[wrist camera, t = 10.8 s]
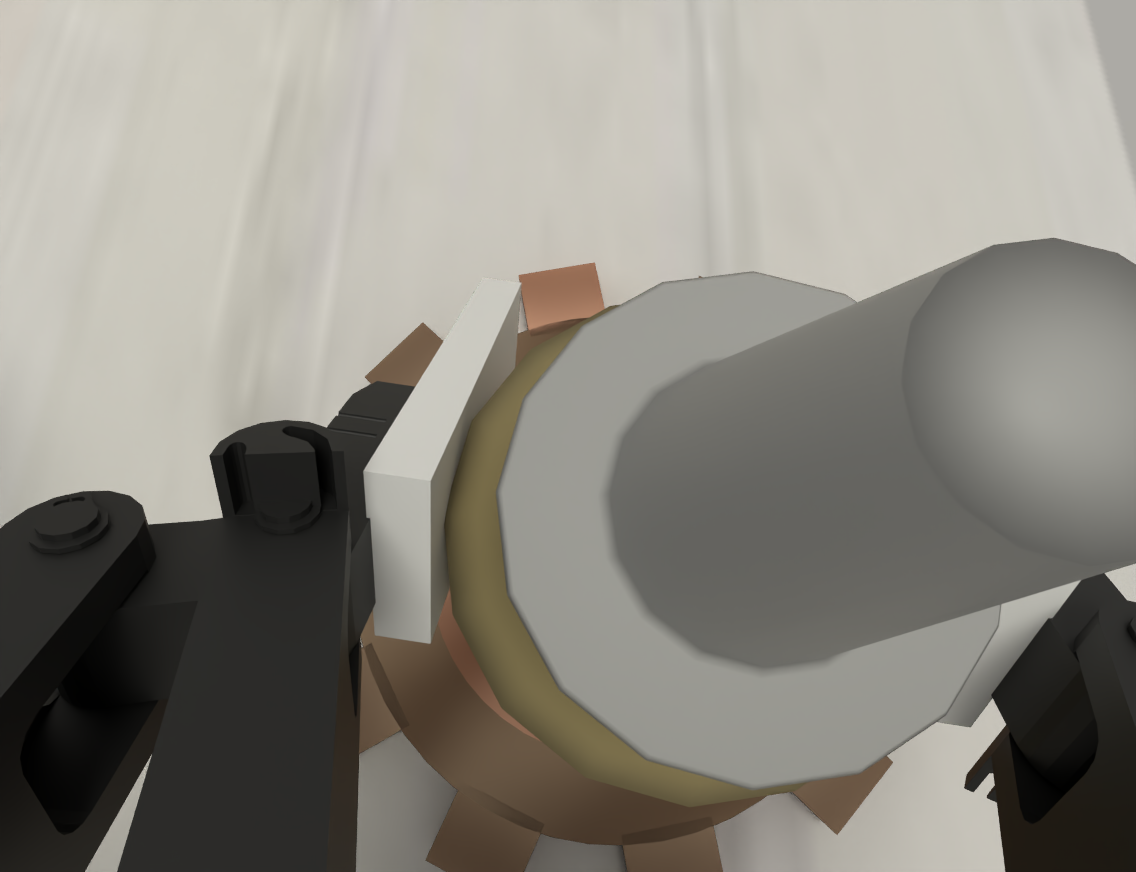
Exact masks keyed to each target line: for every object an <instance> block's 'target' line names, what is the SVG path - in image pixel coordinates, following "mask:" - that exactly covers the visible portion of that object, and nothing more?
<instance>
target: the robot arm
mask: <svg viewBox="0 0 1136 872" xmlns="http://www.w3.org/2000/svg"><path fill="white" fill-rule="evenodd" d="M521 284H522V283H520V282H513V281H506V280H499V279H493V278H486V277H483V279H482V280H481V282H480V283H479V285H478V287H477V288H476V290H475V291H474V293H473V295H472V296H471V298H470V300H469V301H468V303H467V304H466V306H465V308H464V309H463V311H462V312H461V314H460V316H459V317H458V319H457V321H456V322H455V324H454V325H453V327H452V329H451V330H450V332H449V333H448V335H447V337H446V338H445V340H444V342H443V343H442V345H441V346H440V348H439V350H438V351H437V353H436V354H435V356H434V358H433V359H432V361H431V363H430V364H429V366H428V367H427V369H426V371H425V372H424V374H423V375H422V377H421V379H420V380H419V382H418V384H417V385H416V387H415V386H409V385H402V384H395V383H388V382H381V381H376V382H374V383H372V384H370V385H369V386H367V387H365V388H363V389H361V390H360V391H358V392H356V393H354V394H352V396H351V397H350V398H349V400H348V401H347V402H346V403H345V405H344V406H343V407H342V409H341V410H340V411H339V415H338V416H335V418H334V419H333V420H332V421H331V423H330V424H329V425H328V427H327V428H326V427H323V426H320V425H317V424H314V423H310V422H303V421H290V420H283V421H275V422H266V423H260V424H257V425H254V426H251V427H247V428H244V429H241V430H238V431H236V432H235V433H233V434H232V435H230V436H228V437H227V438H225V439H224V440H222V441H220V442H219V443H218V445H217V446H216V448H215V449H214V450H213V452H212V453H211V454H210V460H211V465H212V469H213V474H214V478H215V483H216V487H217V492H218V496H219V501H220V505H221V510H222V514H223V518H218V519H211V520H204V521H192V522H178V523H164V524H150V525H148V523H147V520H146V516H145V513H144V510H143V507H142V505H141V504H140V503H138V502H137V501H136V500H134V499H133V498H132V497H131V496H129V495H124V494H120V493H116V492H112V491H83V492H79V493H74V494H69V495H64V496H60V497H56V498H53V499H50V500H48V501H46V502H43V503H41V504H38V505H36V506H33V507H31V508H29V509H27V510H25V511H24V512H22V513H21V514H19V515H18V516H16V517H15V518H14V519H12V520H11V521H9V522H8V523H6V524H5V525H4V526H3V527H2V528H0V872H85V870H86V869H87V867H88V865H89V863H90V862H91V860H92V858H93V856H94V855H95V853H96V851H97V849H98V848H99V846H100V844H101V842H102V840H103V839H104V837H105V835H106V833H107V832H108V830H109V828H110V826H111V825H112V823H113V821H114V819H115V818H116V816H117V814H118V812H119V811H120V809H121V807H122V805H123V804H124V802H125V800H126V798H127V797H128V795H129V793H130V791H131V790H132V788H133V786H134V784H135V783H136V781H137V779H138V777H139V776H140V774H141V772H142V770H143V768H144V767H145V765H146V763H147V761H148V760H149V758H150V756H151V754H152V757H151V760H150V763H149V767H148V770H147V773H146V777H145V780H144V784H143V787H142V790H141V794H140V797H139V800H138V804H137V807H136V810H135V814H134V817H133V820H132V824H131V827H130V830H129V834H128V837H127V840H126V844H125V847H124V850H123V854H122V857H121V861H120V864H119V867H118V871H117V872H356V844H357V810H358V775H359V741H360V706H361V671H362V654H361V642H360V636H361V634H362V632H363V629H364V627H365V625H366V623H367V621H368V619H369V616H370V614H371V612H372V610H373V617H374V632H375V635H376V636H382V637H389V638H395V639H402V640H408V641H415V642H421V643H428V644H431V641H432V638H433V635H434V632H435V629H436V627H437V624H438V621H439V618H440V615H441V612H442V609H443V606H444V603H445V600H446V597H447V594H448V591H449V588H450V582H449V572H448V561H447V550H446V539H445V528H444V523H445V516H446V510H447V505H448V501H449V496H450V491H451V486H452V483H453V480H454V476H455V473H456V470H457V467H458V463H459V460H460V457H461V454H462V450H463V447H464V444H465V441H466V437H467V434H468V431H469V428H470V424H471V421H472V420H473V419H474V417H475V416H476V415H477V414H478V413H479V411H480V410H481V409H482V408H483V406H484V405H485V404H486V403H487V402H488V400H489V399H490V398H491V397H492V395H493V394H494V393H495V392H496V391H497V389H498V388H499V387H500V386H501V385H502V383H503V382H504V381H505V380H506V378H507V377H508V376H509V375H510V374H511V372H512V371H513V370H514V369H515V361H516V348H517V336H518V323H519V310H520V297H521ZM992 698H993V699H994V701H995V703H996V705H997V707H998V709H999V711H1000V713H1001V715H1002V717H1003V719H1004V721H1005V723H1006V726H1005V727H1004V728H1003V730H1002V731H1001V732H1000V733H999V735H998V736H997V737H996V738H995V740H994V741H993V742H992V743H991V745H990V746H989V747H988V749H987V750H986V751H985V752H984V754H983V755H982V756H981V757H980V759H979V760H978V761H977V762H976V764H975V765H974V766H973V767H972V769H971V770H970V771H969V772H968V774H967V776H966V781H965V787H964V788H965V789H967V790H969V791H972V792H974V791H975V790H976V789H977V787H978V786H979V785H980V784H981V783H982V781H983V780H984V779H985V778H986V777H987V775H988V774H989V773H993V774H994V782H995V786H994V787H993V788H992V789H991V791H990V792H989V793H988V795H987V798H988V799H990V800H992V801H995V802H997V807H998V815H999V823H1000V831H1001V839H1002V847H1003V855H1004V864H1005V872H1136V602H1132V601H1127V600H1126V599H1125V597H1124V596H1123V595H1122V594H1121V593H1120V591H1119V590H1118V589H1117V588H1116V587H1115V585H1114V584H1113V583H1112V582H1111V581H1110V580H1109V578H1108V577H1107V576H1106V575H1105V574H1104V573H1102V574H1099V575H1096V576H1092V577H1089V578H1086V579H1083V580H1079V581H1076V582H1073V583H1069V584H1066V585H1063V586H1060V587H1056V588H1053V589H1050V590H1047V591H1043V592H1040V593H1037V594H1033V595H1030V596H1027V597H1024V598H1020V599H1017V600H1014V601H1010V602H1007V603H1004V604H1001V612H1000V621H999V627H998V629H997V631H996V632H995V634H994V636H993V637H992V639H991V641H990V643H989V644H988V646H987V648H986V649H985V651H984V653H983V654H982V656H981V658H980V659H979V661H978V663H977V664H976V666H975V668H974V670H973V671H972V673H971V675H970V676H969V678H968V680H967V681H966V683H965V685H964V686H963V688H962V690H961V691H960V693H959V695H958V697H957V698H956V700H955V702H954V703H953V705H952V707H951V708H950V710H949V712H948V713H947V715H946V716H945V717H943V718H942V719H940V720H939V721H937V722H940V723H946V724H953V725H959V726H965V727H971V726H972V725H973V723H974V722H975V721H976V719H977V718H978V717H979V715H980V714H981V713H982V711H983V710H984V709H985V707H986V706H987V705H988V703H989V702H990V701H991V699H992Z"/></svg>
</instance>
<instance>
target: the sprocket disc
mask: <svg viewBox="0 0 1136 872" xmlns="http://www.w3.org/2000/svg"><path fill="white" fill-rule="evenodd" d="M699 278H703V277H701V276H699ZM519 281H520V283H522V284H521V294H522V299H523V305H524V310H525V316H526V321H527V327H528V330H527V331H524V332H521V333H518V336H517V348H516V361H515V368H516V366H517V365H518V364H519V363H520V361H521V360H522V359H523V358H524V357H525V355H526V354H527V353H528V352H529V351H530V349H532V348H534V347H536V346H537V345H539V344H541V343H543V342H545V341H547V340H549V339H550V338H552V337H554V336H556V335H558V334H560V333H561V332H563V331H565V330H567V329H569V328H571V327H573V326H574V325H576V324H578V323H580V322H582V321H584V320H586V319H587V318H589V317H591V316H593V315H595V314H597V313H598V312H600V311H602V310H604V304H603V299H602V294H601V290H600V285H599V280H598V275H597V271H596V266H595V263H589V264H583V265H577V266H571V267H565V268H559V269H553V270H547V271H541V272H535V273H529V274H523V275H519ZM442 343H443V341H442V340H441V339H440V338H439V337H438V336H437V335H436V334H435V333H434V332H433V331H432V330H431V329H429V328H428V327H427V326H426V325H425V324H424V323H422V324H421V325H419V326H418V327H417V328H416V329H415V330H414V331H413V332H412V333H411V334H410V335H409V336H408V337H407V338H406V339H405V340H403V341H402V342H401V343H400V344H399V345H398V346H397V347H396V348H395V349H394V350H393V351H392V352H391V353H390V354H389V355H388V356H386V357H385V358H384V359H383V360H382V361H381V362H380V363H379V364H378V365H377V366H376V367H375V368H374V369H373V370H372V371H370V372H369V373H368V374H367V375H366V376H365V378H366V379H367V380H368V381H369V382H370V383H371V384H372V383H374V382H376V381H381V382H388V383H395V384H402V385H409V386H415V387H416V385H417V384H418V382H419V380H420V379H421V377H422V375H423V374H424V372H425V371H426V369H427V367H428V366H429V364H430V363H431V361H432V359H433V358H434V356H435V354H436V353H437V351H438V350H439V348H440V346H441V345H442ZM361 640H362V643H363V646H364V647H363V648H361V654H362V671H361V706H360V741H359V754H360V753H362V752H363V751H365V750H367V749H369V748H370V747H372V746H374V745H376V744H377V743H379V742H381V741H383V740H384V739H386V738H388V737H390V736H391V735H393V734H395V733H397V732H399V731H400V730H402V732H403V733H404V735H405V736H406V737H407V738H408V740H409V741H410V742H411V743H412V745H413V746H414V747H415V748H416V749H417V751H418V752H419V753H420V754H421V756H422V757H423V758H424V759H425V760H426V762H427V763H428V764H429V765H430V766H432V767H433V768H434V769H435V770H436V771H437V772H438V773H439V774H440V775H441V776H442V777H443V778H444V779H445V780H447V781H448V782H449V783H450V784H451V785H452V786H453V787H454V788H456V789H457V790H458V792H457V794H456V796H455V798H454V800H453V802H452V804H451V807H450V809H449V811H448V813H447V815H446V817H445V819H444V821H443V824H442V826H441V828H440V830H439V832H438V834H437V836H436V839H435V841H434V843H433V845H432V847H431V849H430V851H429V853H428V856H427V858H426V861H428V862H429V863H431V864H433V865H435V866H437V867H439V868H441V869H442V870H444V871H446V872H524V870H525V868H526V866H527V863H528V861H529V859H530V856H531V854H532V852H533V850H534V847H535V845H536V843H537V841H538V838H539V836H540V834H544V835H547V836H550V837H554V838H559V839H564V840H570V841H575V842H581V843H586V844H601V845H622V847H623V852H624V857H625V863H626V868H627V872H723V870H722V865H721V860H720V855H719V851H718V846H717V841H716V836H715V832H714V827H713V826H714V825H716V824H719V823H721V822H723V821H726V820H728V819H731V818H732V817H734V816H736V815H737V814H739V813H741V812H742V811H744V810H746V809H747V808H749V807H751V806H752V805H754V804H756V803H757V802H759V801H761V800H762V799H764V798H765V797H766V796H760V797H754V798H747V799H741V800H734V801H728V802H721V803H715V804H708V805H701V806H695V807H687V806H683V805H680V804H676V803H673V802H669V801H666V800H662V799H659V798H655V797H652V796H648V795H645V794H641V793H638V792H634V791H631V790H627V789H624V788H620V787H617V786H613V785H610V784H606V783H603V782H599V781H595V780H592V779H588V778H585V777H584V776H583V775H582V774H580V773H579V772H578V771H577V770H576V769H574V768H573V767H572V766H571V765H569V764H568V763H567V762H566V761H565V760H563V759H562V758H561V757H560V756H559V755H557V754H556V753H555V752H554V751H553V750H551V749H550V748H549V747H548V746H546V745H545V744H544V743H543V742H542V741H540V740H539V739H538V738H537V737H536V736H534V735H533V734H532V733H531V732H529V731H528V730H527V729H526V728H525V727H523V726H522V725H521V724H520V723H519V722H517V721H516V720H515V719H514V718H513V717H511V716H510V715H509V714H508V713H506V712H505V711H504V710H503V709H502V708H501V706H500V704H499V702H498V701H497V699H496V697H495V695H494V693H493V691H492V689H491V687H490V685H489V683H488V681H487V680H486V678H485V676H484V674H483V672H482V670H481V668H480V666H479V664H478V662H477V661H476V659H475V657H474V655H473V653H472V651H471V649H470V647H469V645H468V643H467V641H466V640H465V638H464V636H463V634H462V632H461V630H460V628H459V626H458V624H457V622H456V621H455V619H454V617H453V615H452V604H451V593H450V588H449V591H448V594H447V597H446V600H445V603H444V606H443V609H442V612H441V615H440V618H439V621H438V624H437V627H436V629H435V632H434V635H433V638H432V641H431V644H428V643H421V642H415V641H408V640H402V639H395V638H389V637H382V636H376V635H375V632H374V617H373V610H372V612H371V614H370V616H369V619H368V621H367V623H366V625H365V627H364V629H363V632H362V634H361ZM892 763H893V762H892V761H891V760H890V759H889V758H888V757H887V756H885V757H884V758H883V759H881V760H880V761H878V762H877V763H875V764H874V765H872V766H871V767H869V768H868V769H866V770H865V771H863V772H862V773H860V774H857V775H850V776H844V777H837V778H831V779H824V780H818V781H811V782H808V783H806V784H805V785H803V786H802V787H800V788H799V789H797V790H796V791H793V793H794V794H795V795H796V796H797V797H798V798H799V799H800V800H801V801H802V802H803V803H804V804H805V805H806V806H807V807H808V808H809V809H810V810H811V811H812V812H813V813H814V814H815V815H816V816H817V817H818V818H819V819H820V820H822V821H823V822H824V823H825V824H826V825H827V826H828V827H829V828H830V829H831V830H832V831H833V832H834V833H836V834H837V835H838V833H839V832H840V831H841V829H842V828H843V827H844V825H845V824H846V823H847V822H848V820H849V819H850V818H851V816H852V815H853V814H854V813H855V811H856V810H857V809H858V807H859V806H860V805H861V803H862V802H863V801H864V800H865V798H866V797H867V796H868V794H869V793H870V792H871V790H872V789H873V788H874V787H875V785H876V784H877V783H878V781H879V780H880V779H881V777H882V776H883V775H884V774H885V772H886V771H887V770H888V768H889V767H890V766H891V764H892Z"/></svg>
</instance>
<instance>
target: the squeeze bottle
mask: <svg viewBox="0 0 1136 872" xmlns="http://www.w3.org/2000/svg"><path fill="white" fill-rule="evenodd" d="M444 528H445V539H446V550H447V561H448V572H449V582H450V593H451V604H452V615H453V617H454V619H455V621H456V622H457V624H458V626H459V628H460V630H461V632H462V634H463V636H464V638H465V640H466V641H467V643H468V645H469V647H470V649H471V651H472V653H473V655H474V657H475V659H476V661H477V662H478V664H479V666H480V668H481V670H482V672H483V674H484V676H485V678H486V680H487V681H488V683H489V685H490V687H491V689H492V691H493V693H494V695H495V697H496V699H497V701H498V702H499V704H500V706H501V708H502V709H503V710H504V711H505V712H506V713H508V714H509V715H510V716H511V717H513V718H514V719H515V720H516V721H517V722H519V723H520V724H521V725H522V726H523V727H525V728H526V729H527V730H528V731H529V732H531V733H532V734H533V735H534V736H536V737H537V738H538V739H539V740H540V741H542V742H543V743H544V744H545V745H546V746H548V747H549V748H550V749H551V750H553V751H554V752H555V753H556V754H557V755H559V756H560V757H561V758H562V759H563V760H565V761H566V762H567V763H568V764H569V765H571V766H572V767H573V768H574V769H576V770H577V771H578V772H579V773H580V774H582V775H583V776H584V777H585V778H588V779H592V780H595V781H599V782H603V783H606V784H610V785H613V786H617V787H620V788H624V789H627V790H631V791H634V792H638V793H641V794H645V795H648V796H652V797H655V798H659V799H662V800H666V801H669V802H673V803H676V804H680V805H683V806H687V807H695V806H701V805H708V804H715V803H721V802H728V801H734V800H741V799H747V798H754V797H760V796H767V795H773V794H780V793H787V792H793V791H796V790H797V789H799V788H800V787H802V786H803V785H805V784H806V783H808V782H811V781H818V780H824V779H831V778H837V777H844V776H850V775H857V774H860V773H862V772H863V771H865V770H866V769H868V768H869V767H871V766H872V765H874V764H875V763H877V762H878V761H880V760H881V759H883V758H884V757H885V756H887V755H888V754H890V753H891V752H893V751H894V750H896V749H897V748H899V747H900V746H902V745H903V744H905V743H906V742H908V741H909V740H911V739H912V738H914V737H915V736H917V735H918V734H919V733H921V732H922V731H924V730H925V729H927V728H928V727H930V726H931V725H933V724H934V723H936V722H937V721H939V720H940V719H942V718H943V717H945V716H946V715H947V713H948V712H949V710H950V708H951V707H952V705H953V703H954V702H955V700H956V698H957V697H958V695H959V693H960V691H961V690H962V688H963V686H964V685H965V683H966V681H967V680H968V678H969V676H970V675H971V673H972V671H973V670H974V668H975V666H976V664H977V663H978V661H979V659H980V658H981V656H982V654H983V653H984V651H985V649H986V648H987V646H988V644H989V643H990V641H991V639H992V637H993V636H994V634H995V632H996V631H997V629H998V627H999V621H1000V612H1001V604H1004V603H1007V602H1010V601H1014V600H1017V599H1020V598H1024V597H1027V596H1030V595H1033V594H1037V593H1040V592H1043V591H1047V590H1050V589H1053V588H1056V587H1060V586H1063V585H1066V584H1069V583H1073V582H1076V581H1079V580H1083V579H1086V578H1089V577H1092V576H1096V575H1099V574H1102V573H1106V572H1109V571H1112V570H1115V569H1119V568H1122V567H1125V566H1129V565H1132V564H1135V563H1136V264H1134V263H1132V262H1131V261H1129V260H1128V259H1126V258H1124V257H1123V256H1121V255H1120V254H1118V253H1115V252H1111V251H1107V250H1103V249H1098V248H1094V247H1090V246H1086V245H1082V244H1078V243H1074V242H1069V241H1065V240H1061V239H1057V238H1049V239H1040V240H1032V241H1023V242H1015V243H1007V244H998V245H992V246H990V247H988V248H985V249H983V250H981V251H978V252H976V253H974V254H971V255H969V256H966V257H964V258H962V259H959V260H957V261H955V262H952V263H950V264H947V265H945V266H943V267H940V268H938V269H936V270H933V271H931V272H929V273H926V274H924V275H921V276H919V277H917V278H914V279H912V280H910V281H907V282H905V283H903V284H900V285H898V286H895V287H893V288H891V289H888V290H886V291H884V292H881V293H879V294H876V295H874V296H872V297H869V298H867V299H865V300H862V301H860V302H858V303H857V302H856V301H855V300H853V299H852V298H850V297H849V296H847V295H846V294H842V293H838V292H834V291H830V290H826V289H822V288H818V287H814V286H810V285H806V284H802V283H798V282H794V281H790V280H786V279H782V278H778V277H774V276H770V275H766V274H762V273H758V272H754V271H753V272H745V273H737V274H728V275H720V276H711V277H703V278H694V279H686V280H677V281H669V282H662V283H660V284H658V285H656V286H655V287H653V288H651V289H649V290H647V291H645V292H644V293H642V294H640V295H638V296H636V297H634V298H632V299H631V300H629V301H627V302H625V303H623V304H621V305H615V306H610V307H608V308H606V309H604V310H602V311H600V312H598V313H597V314H595V315H593V316H591V317H589V318H587V319H586V320H584V321H582V322H580V323H578V324H576V325H574V326H573V327H571V328H569V329H567V330H565V331H563V332H561V333H560V334H558V335H556V336H554V337H552V338H550V339H549V340H547V341H545V342H543V343H541V344H539V345H537V346H536V347H534V348H532V349H530V351H529V352H528V353H527V354H526V355H525V357H524V358H523V359H522V360H521V361H520V363H519V364H518V365H517V366H516V368H515V369H514V370H513V371H512V372H511V374H510V375H509V376H508V377H507V378H506V380H505V381H504V382H503V383H502V385H501V386H500V387H499V388H498V389H497V391H496V392H495V393H494V394H493V395H492V397H491V398H490V399H489V400H488V402H487V403H486V404H485V405H484V406H483V408H482V409H481V410H480V411H479V413H478V414H477V415H476V416H475V417H474V419H473V420H472V421H471V424H470V428H469V431H468V434H467V437H466V441H465V444H464V447H463V450H462V454H461V457H460V460H459V463H458V467H457V470H456V473H455V476H454V480H453V483H452V486H451V491H450V496H449V501H448V505H447V510H446V516H445V523H444Z"/></svg>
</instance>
